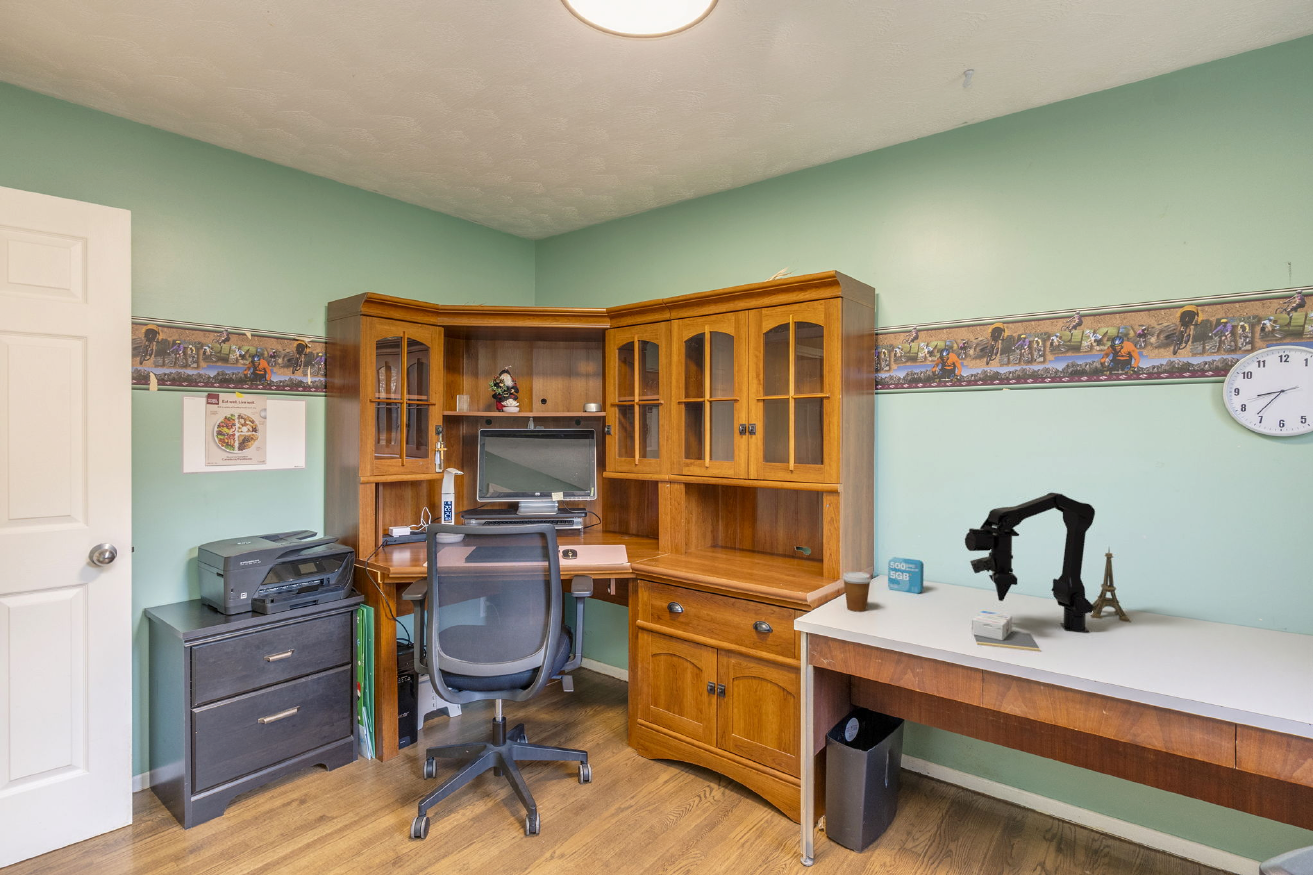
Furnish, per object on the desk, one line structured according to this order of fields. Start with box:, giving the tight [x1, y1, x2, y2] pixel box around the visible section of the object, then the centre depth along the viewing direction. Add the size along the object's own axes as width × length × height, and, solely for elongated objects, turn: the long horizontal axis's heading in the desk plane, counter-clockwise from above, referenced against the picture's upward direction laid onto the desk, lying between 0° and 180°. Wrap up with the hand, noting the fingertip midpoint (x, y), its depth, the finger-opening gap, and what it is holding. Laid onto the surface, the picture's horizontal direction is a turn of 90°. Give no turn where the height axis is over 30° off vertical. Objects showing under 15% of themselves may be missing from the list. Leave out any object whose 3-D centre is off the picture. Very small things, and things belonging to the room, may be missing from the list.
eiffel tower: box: [1090, 548, 1132, 623], centre depth 214 cm, size 11×11×25 cm
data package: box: [887, 556, 925, 595], centre depth 246 cm, size 12×4×12 cm, turn 54°
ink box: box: [971, 610, 1013, 641], centre depth 195 cm, size 9×5×12 cm
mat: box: [973, 631, 1041, 652], centre depth 191 cm, size 15×16×1 cm
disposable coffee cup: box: [842, 571, 872, 613], centre depth 222 cm, size 10×10×12 cm
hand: (1000, 600), depth 199 cm, fingers closed
